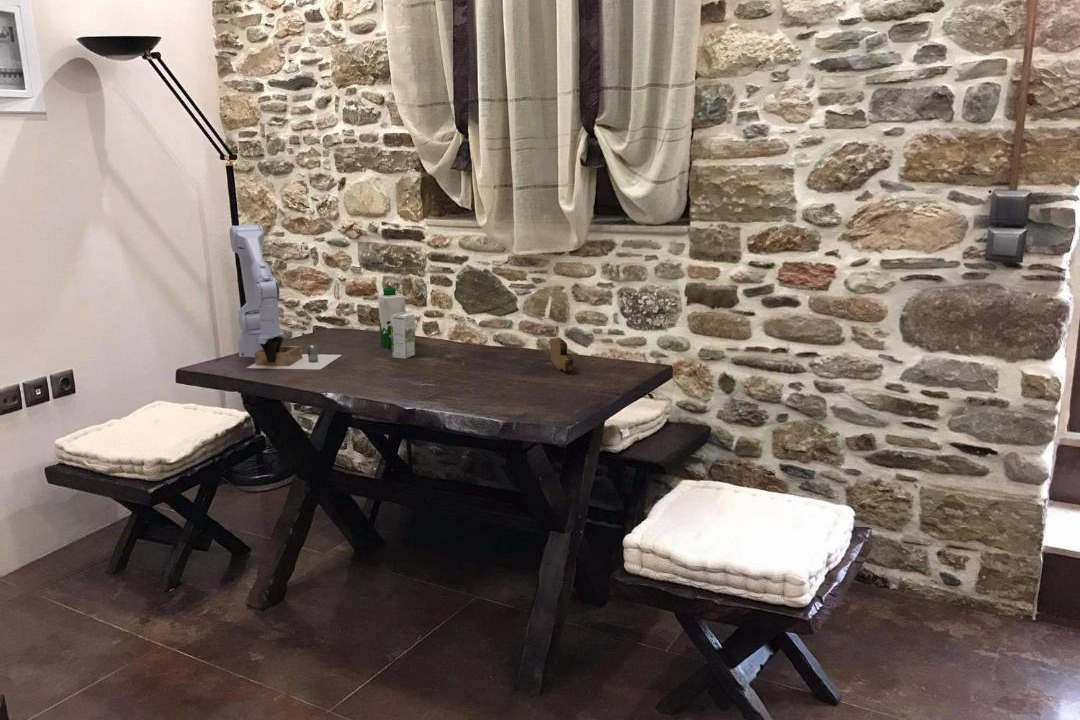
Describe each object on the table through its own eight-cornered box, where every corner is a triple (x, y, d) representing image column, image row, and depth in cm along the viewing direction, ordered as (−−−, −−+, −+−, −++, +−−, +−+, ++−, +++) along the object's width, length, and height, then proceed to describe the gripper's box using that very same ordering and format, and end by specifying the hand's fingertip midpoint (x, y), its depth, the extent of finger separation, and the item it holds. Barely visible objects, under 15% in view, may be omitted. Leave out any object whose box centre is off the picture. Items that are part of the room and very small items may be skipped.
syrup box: (401, 354, 297) (399, 311, 294) (416, 355, 294) (414, 313, 291) (391, 357, 292) (389, 314, 289) (406, 359, 289) (404, 316, 286)
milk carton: (401, 342, 315) (399, 287, 311) (410, 347, 308) (407, 290, 303) (378, 345, 312) (375, 289, 307) (386, 349, 304) (383, 292, 299)
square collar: (255, 365, 278) (254, 353, 277) (270, 357, 289) (269, 345, 288) (289, 365, 277) (288, 353, 276) (302, 358, 287) (301, 346, 287)
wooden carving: (579, 374, 268) (578, 342, 265) (565, 375, 266) (565, 343, 264) (557, 362, 282) (557, 332, 280) (544, 364, 281) (543, 333, 278)
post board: (246, 371, 275) (244, 351, 274) (273, 357, 295) (271, 338, 293) (320, 373, 272) (319, 352, 271) (342, 358, 292) (340, 339, 290)
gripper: (272, 323, 267) (275, 367, 270) (290, 315, 281) (294, 356, 284) (250, 323, 268) (253, 366, 271) (269, 314, 282) (273, 356, 285)
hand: (273, 361), depth 278 cm, fingers closed on square collar
